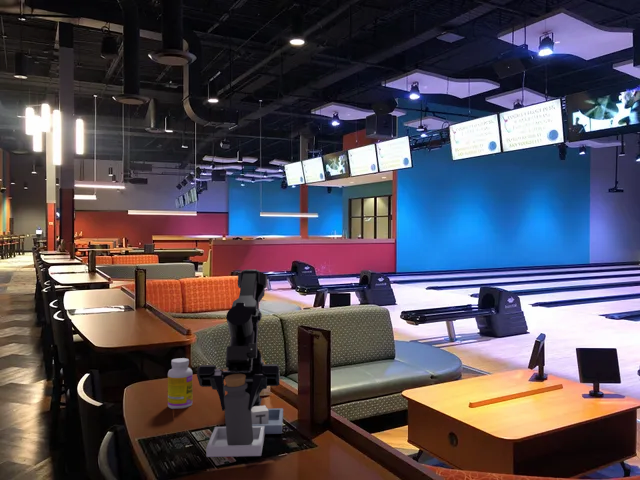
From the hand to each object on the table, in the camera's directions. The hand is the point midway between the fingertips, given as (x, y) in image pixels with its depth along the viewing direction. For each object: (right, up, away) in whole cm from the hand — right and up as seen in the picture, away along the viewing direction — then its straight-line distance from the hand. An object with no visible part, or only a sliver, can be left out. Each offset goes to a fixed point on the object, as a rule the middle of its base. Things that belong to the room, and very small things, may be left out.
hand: (236, 410), depth 116 cm
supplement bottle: (-20, -8, +29) cm, 36 cm away
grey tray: (0, -9, +1) cm, 9 cm away
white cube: (+4, -8, +13) cm, 16 cm away
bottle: (+1, -8, +2) cm, 8 cm away
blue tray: (+4, -9, +14) cm, 16 cm away
